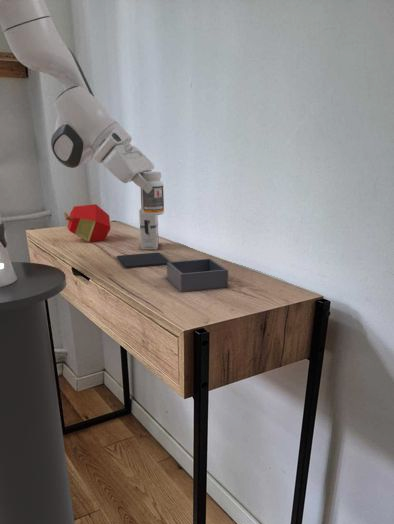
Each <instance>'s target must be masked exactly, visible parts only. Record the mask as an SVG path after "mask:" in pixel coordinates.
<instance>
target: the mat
mask: <svg viewBox="0 0 394 524" xmlns="http://www.w3.org/2000/svg"><path fill="white" fill-rule="evenodd" d="M116 257H117V259H118V260H119V261H120V262H121V264H122V265H123V266H124V267H125V268H126V269H132V268H143V267H144V268H145V267H156V266H167V262H170V261H169V260H168V259H167V258H166V257H165V256H164V255H162V254H161V252H149V253H148V252H147V253H133V254H121V255H117V256H116Z"/></svg>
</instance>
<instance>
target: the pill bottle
mask: <svg viewBox="0 0 394 524" xmlns="http://www.w3.org/2000/svg"><path fill="white" fill-rule="evenodd" d="M142 178H144V179H145V180H146V181H147V182H148V183H150V184H151V186H152V187H153V190H152V191H151V192H150V193H146V192H145V191H144V190H143V189H142V188H141V187H139V188H140V208H141V210H142V214H144V215H158V216H161V215H163V214H164V213H165V198H164V197H165V196H164V193H165V192H164V183H163V182H162V181H161V178H162V172H161V171H151V172H142Z"/></svg>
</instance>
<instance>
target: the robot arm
mask: <svg viewBox="0 0 394 524" xmlns="http://www.w3.org/2000/svg"><path fill="white" fill-rule="evenodd" d="M0 27H1V30H2V32H3V34H4V37H5V39H6V42H7V44H8V47H9V48H10V51H11V52H12V54H13V55H14V57H15V59H16V60H17V61H18V62H19V63H20V64H21V65H23V66H24V67H26V68H28V69H30V70H33V71H34V72H39V73H43V74H46V75H49V76H51V77H53V78H55V79H56V80H57V81H58V82H59V83H60V84H61V86H62V87H63V90H64V91H62V92H61V93H60V94H59V95H58V96H57V97H56V99H55V101H54V109H55V112H56V113H55V114H56V121H55V126H54V127H55V128H54V132H53V134H52V136H51V138H50V147H51V150H52V153H53V155H54V157H55V158H56V159H57V161H58V162H59V163H60V164H61V165H63V166H65V167H67V168H70V169H74V168H77V167H81V166H82V165H84V164H86V163H87V162H90V161H92V160H94V159H95V161H96V162H97V163H99V164H101V163H102V165H103V166H104V167H105V169H107V170H108V171H109V172H110V173H111V174H112V175H113V176H114V177H115V178H116V179H117V180H119V181H120V182H122V183H123V184H128V183H131V182H133V183H134V184H135V185H136V186H137V187H139V188H140V187H141V188H142V189H143V190H144V191H145V192H146V193H150V192H151V191H152V190H153V187H152V186H151V184H150V183H148V182H147V181H146V180H145V179H144V178H142V172H153V170H154V169H155V165H154V163H153V162H152V161H151V160H150V159H149V158H148V157H147V156H146V154H145V153H143V152H142V151H141V150H140V149H139V148H138V147H137V146H134V145H132V144H131V142H132V139H133V138H132V136H131V135H130V134H129V132H128V131H126V129H124V128H123V126H121V124H120V123H119V122H118V121H117V120H116V119H115V118H112V117H111V116H110V114H109V113H108V111H107V109H106V108H105V106H103V105H102V103H101V102H100V101H99V100H98V99H97V98H96V97H95V95H94V92H93V91H92V89H91V86H90V85H89V82H88V80H87V78H86V75H85V73H84V71H83V70H82V67H81V66H80V64H79V61H78V59H77V57H76V55H75V54H74V53H73V51H72V50H71V49H70V48H69V47H68V45H66V44H65V42H64V41H63V39H62V38H61V36H60V34H59V32H58V30H57V28H56V26H55V24H54V21H53V19H52V16H51V13H50V10H49V9H48V6H47V3H46V1H45V0H0ZM141 188H140V189H141ZM7 247H8V237H7V231H6V228H5V224H4V223H3V222H2V216H1V214H0V287H2V286H6V285H9V284H11V283H13V282H15V281H16V280H17V279H18V278H17V276H16V274H15V271H14V269H13V267H12V264H11V262H12V261H11V259H10V254H9V251H8V248H7Z"/></svg>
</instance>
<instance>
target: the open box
mask: <svg viewBox="0 0 394 524" xmlns="http://www.w3.org/2000/svg"><path fill="white" fill-rule="evenodd" d="M166 279H167V280H168V281H169V282H170V283H171V284H172V285H173V286H174V287H175V288H176V289H178V291H180V292H181V293H183V292H185V293H186V292H192V291H193V292H194V291H202V290H212V289H221V288H223V289H224V288H228V286H229V269H228V268H226V267H224V266H223V265H221V264H220V263H219V262H217V261H215V260H214V259H212V258H201V259H200V258H199V259H190V260H189V259H187V260H177V261H175V260H174V261H169V262H167V265H166Z"/></svg>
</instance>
